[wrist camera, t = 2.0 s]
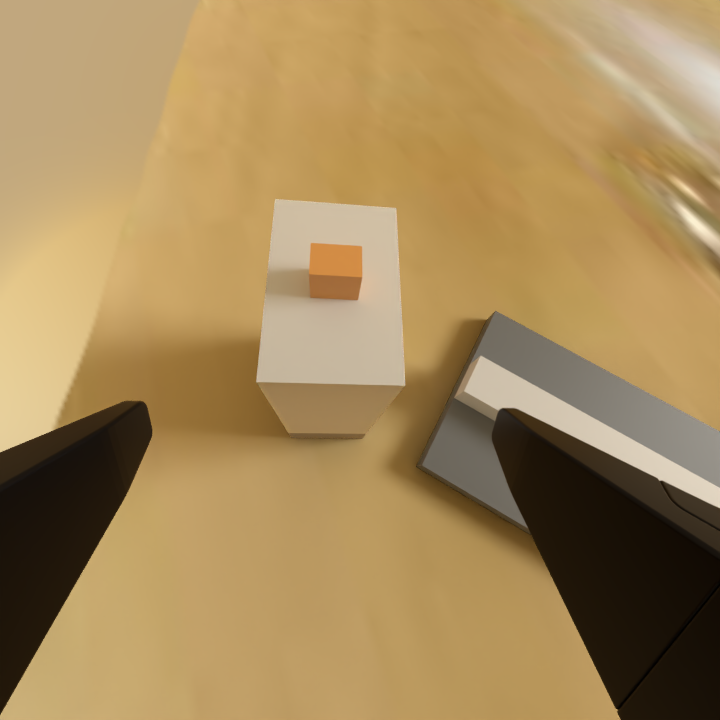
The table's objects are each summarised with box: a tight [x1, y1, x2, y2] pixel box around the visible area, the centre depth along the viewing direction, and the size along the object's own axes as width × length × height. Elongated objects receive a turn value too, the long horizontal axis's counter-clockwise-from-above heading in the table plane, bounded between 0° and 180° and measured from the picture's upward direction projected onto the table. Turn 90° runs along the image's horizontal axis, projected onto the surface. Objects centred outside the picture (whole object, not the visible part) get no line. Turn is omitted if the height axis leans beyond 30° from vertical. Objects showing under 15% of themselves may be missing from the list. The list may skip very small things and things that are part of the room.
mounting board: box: [416, 311, 720, 535], centre depth 19 cm, size 20×11×3 cm, turn 59°
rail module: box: [256, 199, 405, 438], centre depth 15 cm, size 6×4×12 cm, turn 179°
